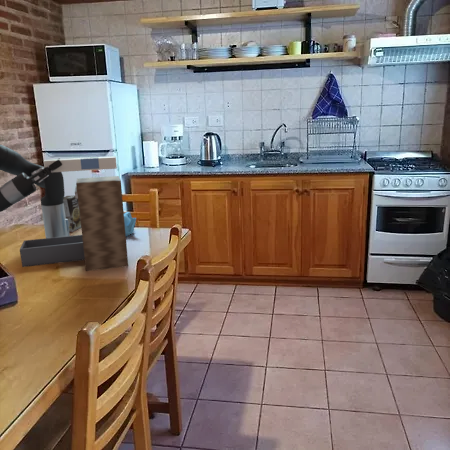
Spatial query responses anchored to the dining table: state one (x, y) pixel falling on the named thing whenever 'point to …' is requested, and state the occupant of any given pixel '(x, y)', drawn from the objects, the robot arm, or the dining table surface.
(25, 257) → the tray
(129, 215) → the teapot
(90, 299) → the dining table surface
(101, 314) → the dining table surface
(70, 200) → the coffee box
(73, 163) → the spaghetti box
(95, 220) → the brown zigzag patterned box
